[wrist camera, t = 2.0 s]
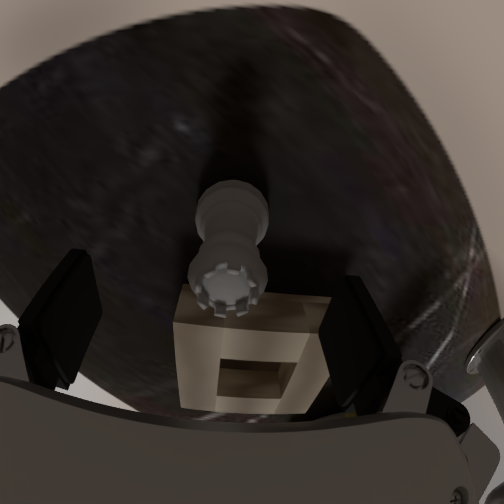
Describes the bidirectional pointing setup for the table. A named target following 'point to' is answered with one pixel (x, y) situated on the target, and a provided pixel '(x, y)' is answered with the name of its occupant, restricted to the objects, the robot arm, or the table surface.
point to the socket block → (250, 354)
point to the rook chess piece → (229, 248)
